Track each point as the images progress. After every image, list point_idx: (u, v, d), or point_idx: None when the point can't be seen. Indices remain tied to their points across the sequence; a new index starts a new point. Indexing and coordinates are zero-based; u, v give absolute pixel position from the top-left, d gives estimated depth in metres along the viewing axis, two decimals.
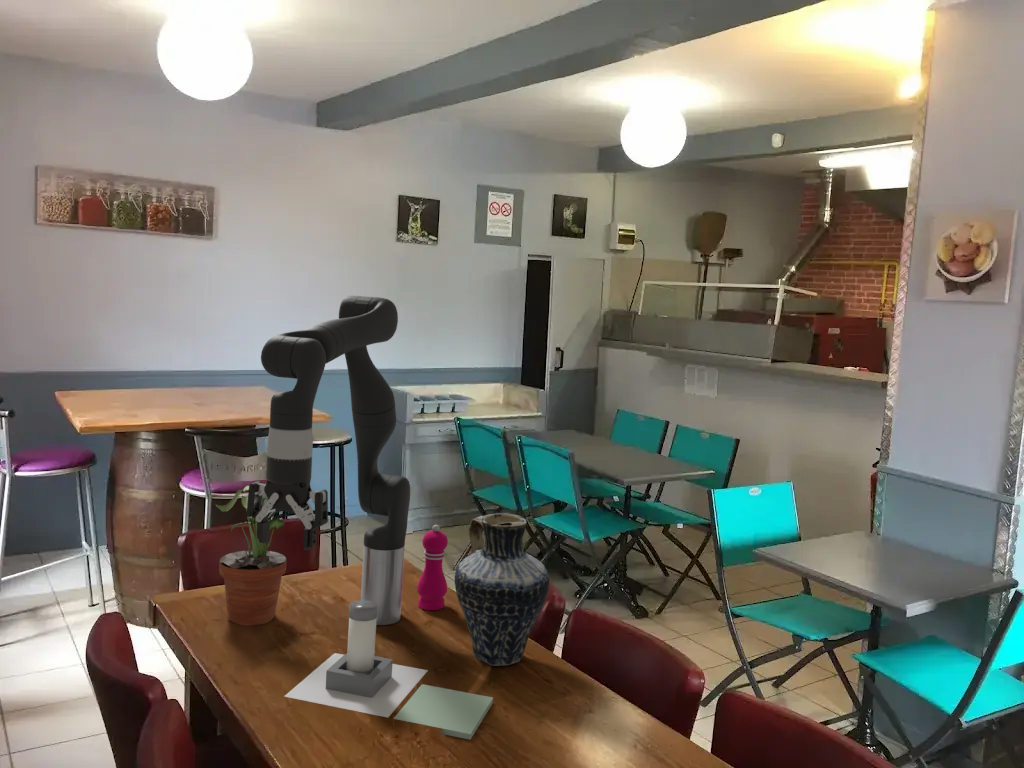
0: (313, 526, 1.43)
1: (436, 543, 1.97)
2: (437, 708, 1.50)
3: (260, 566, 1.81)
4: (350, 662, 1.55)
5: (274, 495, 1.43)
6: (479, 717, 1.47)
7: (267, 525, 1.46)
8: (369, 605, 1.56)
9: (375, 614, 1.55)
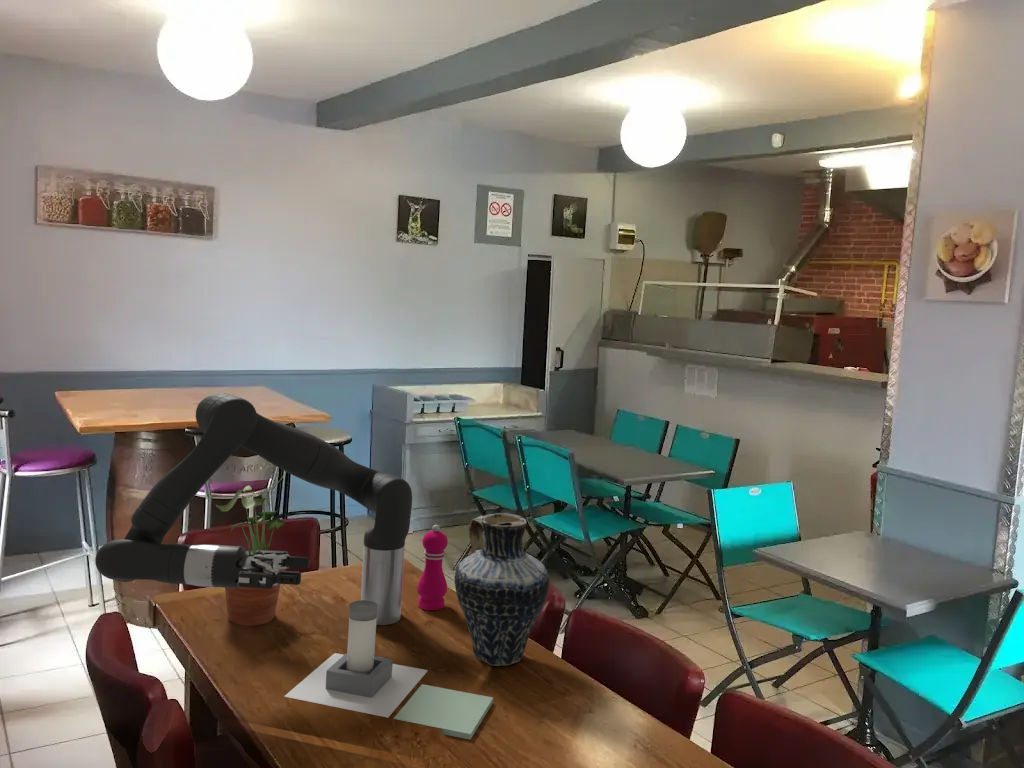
0: None
1: (436, 543, 1.97)
2: (437, 708, 1.50)
3: None
4: (350, 662, 1.55)
5: None
6: (479, 717, 1.47)
7: (292, 560, 1.58)
8: (369, 605, 1.56)
9: (375, 614, 1.55)
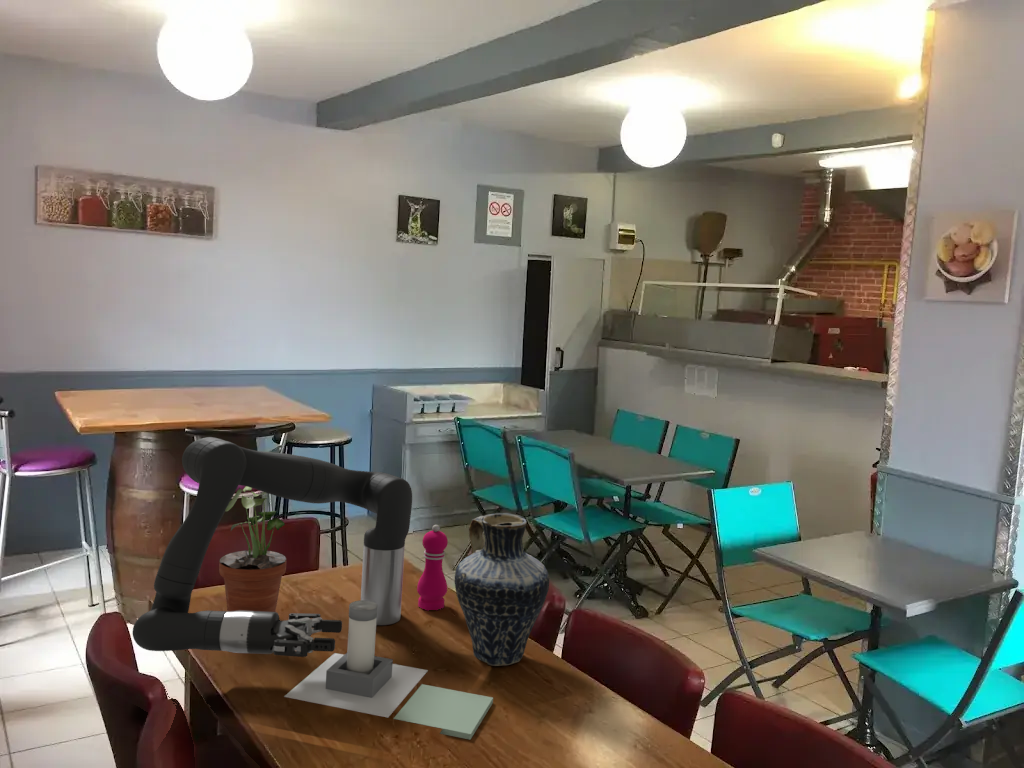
0: (309, 650, 1.51)
1: (436, 543, 1.97)
2: (437, 708, 1.50)
3: (260, 566, 1.81)
4: (350, 662, 1.55)
5: None
6: (479, 717, 1.47)
7: (325, 624, 1.60)
8: (369, 605, 1.56)
9: (375, 614, 1.55)
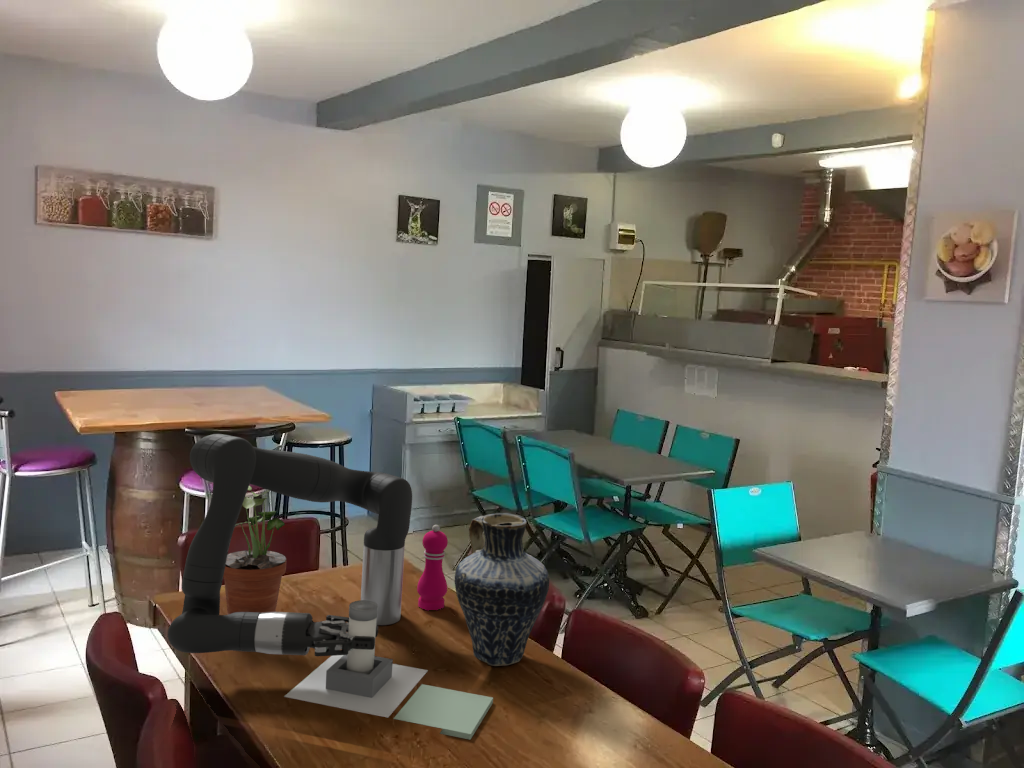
0: None
1: (436, 543, 1.97)
2: (437, 708, 1.50)
3: (260, 566, 1.81)
4: (350, 662, 1.55)
5: None
6: (479, 717, 1.47)
7: None
8: (369, 605, 1.56)
9: (375, 614, 1.55)
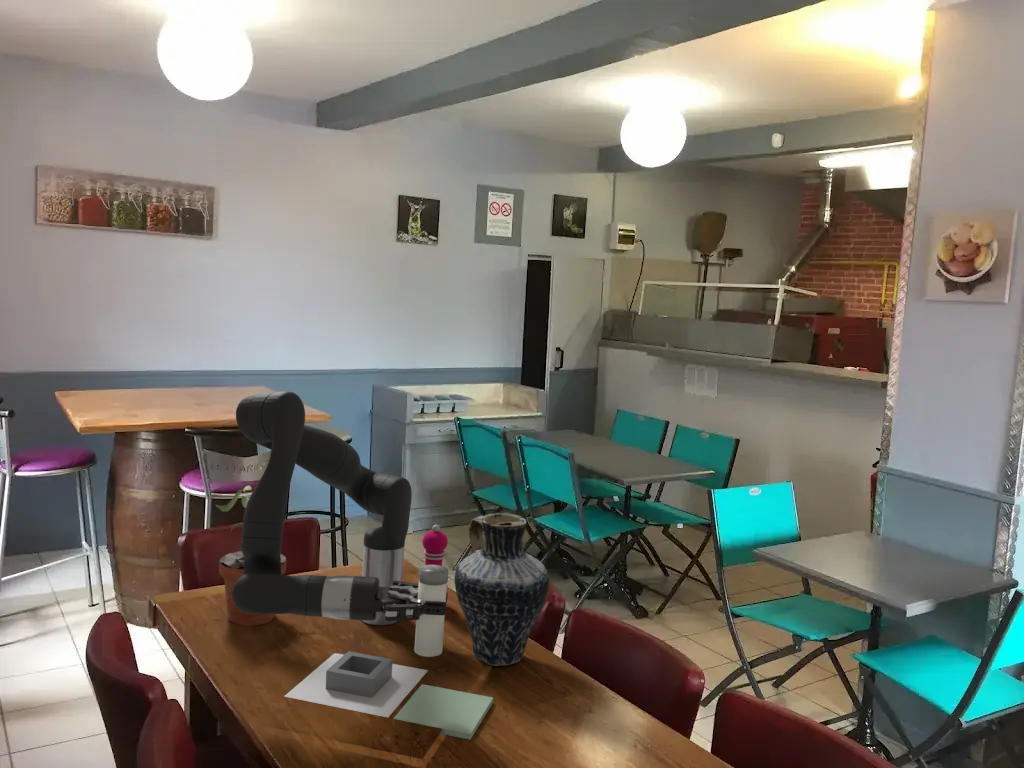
0: None
1: (436, 543, 1.97)
2: (437, 708, 1.50)
3: None
4: (419, 629, 1.48)
5: None
6: (479, 717, 1.47)
7: None
8: (440, 569, 1.49)
9: (446, 578, 1.48)
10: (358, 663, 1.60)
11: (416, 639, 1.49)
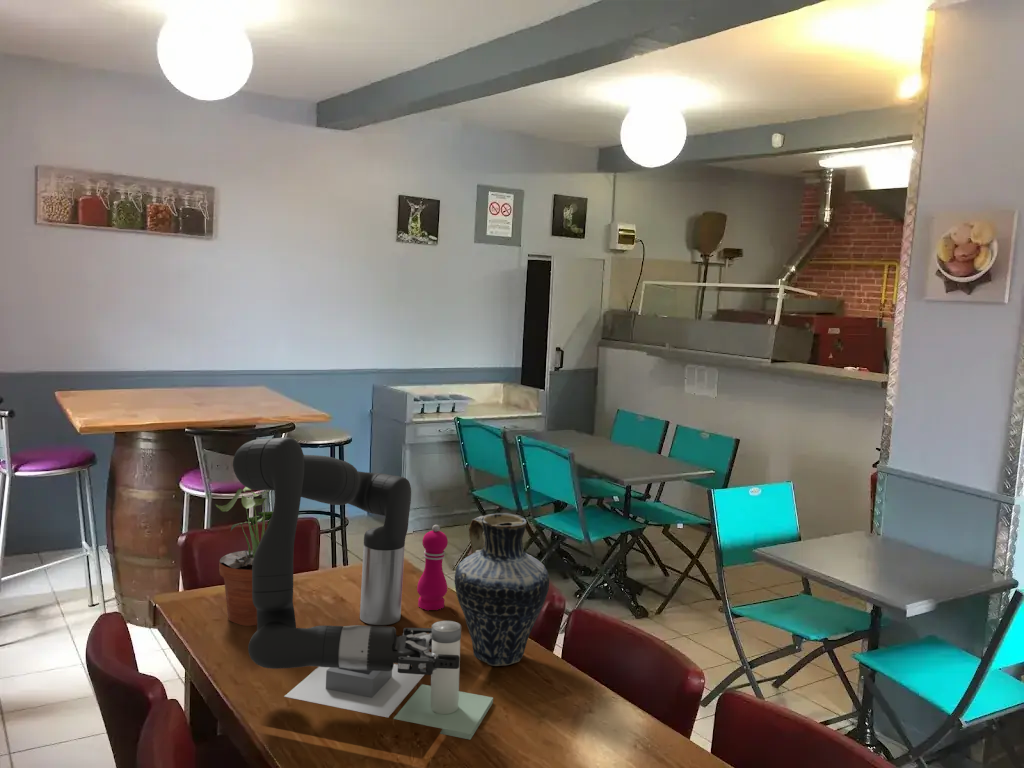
0: None
1: (436, 543, 1.97)
2: None
3: None
4: (435, 687, 1.48)
5: None
6: (479, 717, 1.47)
7: None
8: (452, 626, 1.48)
9: (459, 635, 1.48)
10: None
11: (432, 697, 1.48)
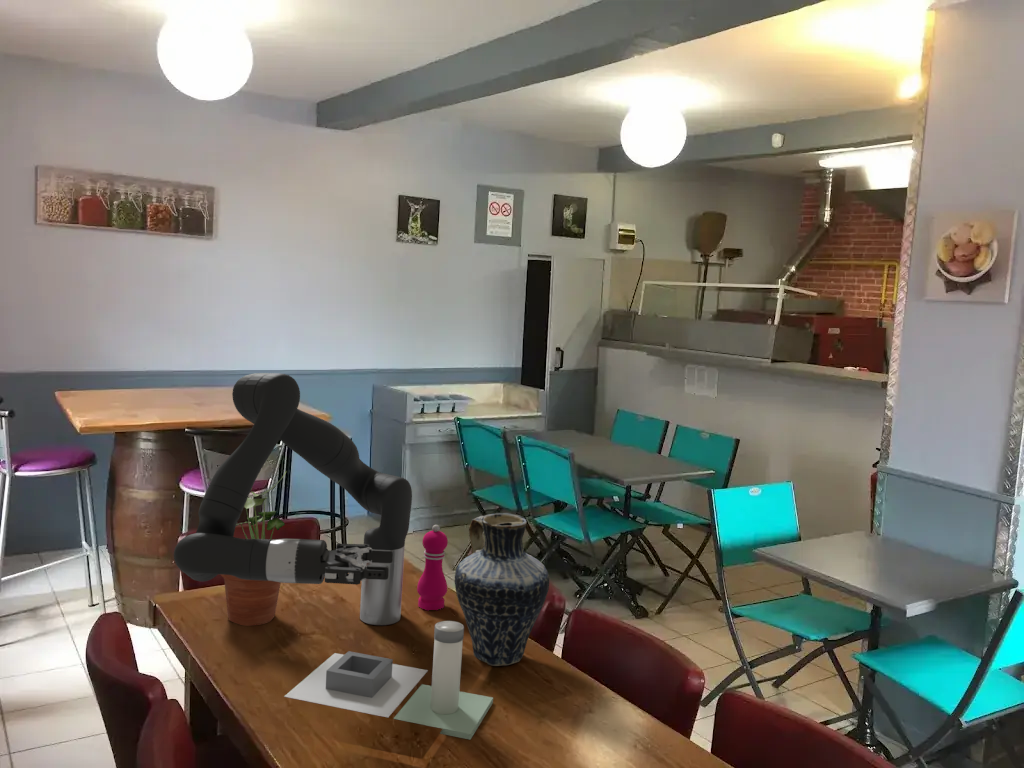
0: (362, 578, 1.41)
1: (436, 543, 1.97)
2: None
3: None
4: (436, 686, 1.48)
5: None
6: (479, 717, 1.47)
7: (375, 554, 1.50)
8: (455, 626, 1.49)
9: (462, 636, 1.48)
10: (358, 663, 1.60)
11: (432, 696, 1.48)
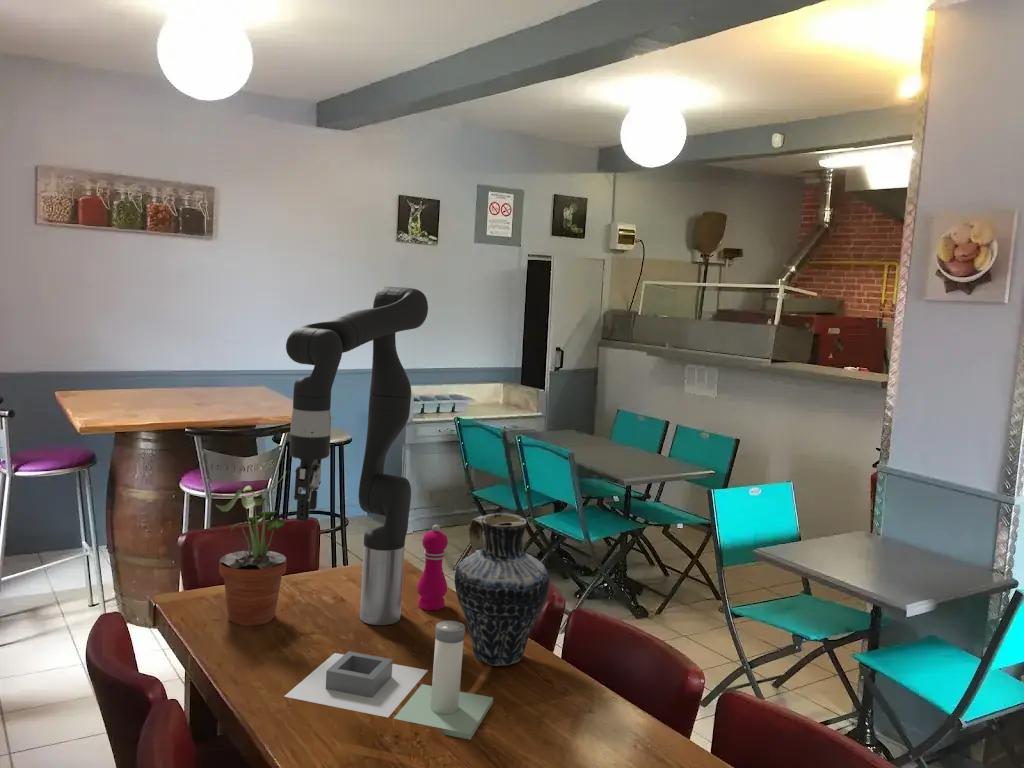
0: None
1: (436, 543, 1.97)
2: None
3: (260, 566, 1.81)
4: (436, 686, 1.48)
5: (300, 466, 1.63)
6: (479, 717, 1.47)
7: (313, 494, 1.66)
8: (456, 626, 1.49)
9: (463, 636, 1.48)
10: (358, 663, 1.60)
11: (432, 696, 1.48)
